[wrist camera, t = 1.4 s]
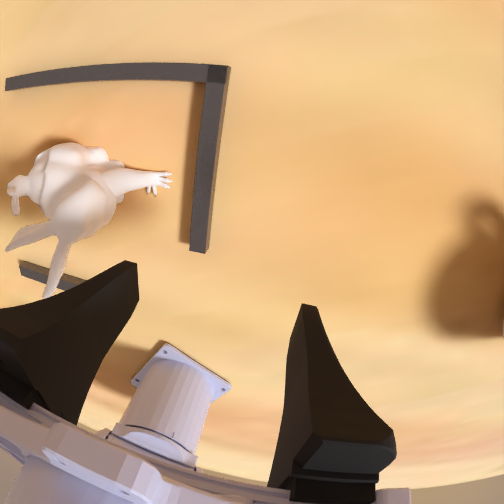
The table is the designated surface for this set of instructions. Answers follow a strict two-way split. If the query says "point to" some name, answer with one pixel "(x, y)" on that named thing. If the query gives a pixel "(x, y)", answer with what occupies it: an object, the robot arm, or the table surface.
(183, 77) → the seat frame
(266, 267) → the table surface
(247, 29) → the table surface
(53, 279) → the white figurine
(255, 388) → the table surface
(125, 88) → the table surface
